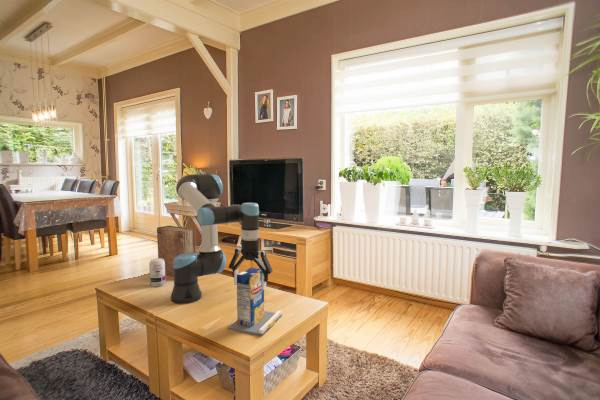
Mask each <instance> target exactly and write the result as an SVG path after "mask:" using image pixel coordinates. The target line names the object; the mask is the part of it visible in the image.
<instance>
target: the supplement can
mask: <svg viewBox="0 0 600 400" xmlns="http://www.w3.org/2000/svg"><path fill="white" fill-rule="evenodd" d="M148 267H149V285H150V286H151V287H153V288H160V287H164V286H165V284H166V275H165V261H164V259H162V258H158V257H157V258H153V259H152V258H151V259H150V261H149V266H148Z"/></svg>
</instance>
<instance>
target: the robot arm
mask: <svg viewBox="0 0 600 400" xmlns="http://www.w3.org/2000/svg"><path fill="white" fill-rule="evenodd" d="M175 190H176V194H177V195H178V197H179V198H180V199H182V200H184V201H186V202H187V203H188V204H189V205H190V207H191V208H192V209H194V211H195V212H196V219H197V221H198V224H199V225H200V231H201V232H200V233H201V234H200V236H201V248H199V251H198V253H199V254H197V252H196V253H195V252H190V253H189V252H188V253H183V254H180V255H178V256H176V257H175V258H174V264H173V268H174V277H173V288H172V291H171V295H170V301H171V303H173V304H177V305H183V304H184V305H185V304H191V303H195V302H198V301H199V300H201V299H202V291H201V288H200V286H199V281H198V278H199V277H204V276H208V275H209V276H210V275H217V274H220V273H222V272H223V271H224V270H225V267H226V264H227V258H226V253H225V252H224V251H223V250H222V248H221V247H220V246H219V236H218V234H219V231H218V229H219V228H218V225H221V224H234V223H240V224H241V225H240V226H241V227H240V229H241V230H240V231H241V232H240V233H241V235H240V237H241V240H240V247H241V248H240V247H237V248H235V249H234V254H233V257H232V258H231V260H230V262H229V265H228V269H231V270H232V277H233V280H234V281H233V285H234V286H237V274H239V273H240V272H239V271H240V269H239V267H240V266H241V264H243V262H244V261H252V262H254V263H256V265H257V266H258V269H261V271H262V272H263V274H262V290H264V291H265V289H266V288H267V282H268V281H269V275H270V274H271V273H273V268H272V267H271V264H270V262H269V259H268V257H267V253H266V250H262V251H260V240H259V238H260V231H259V230H260V229H259V228H260V209H259V208H260V207H259V204H258V203H257V202H243V203H241V204H231V205H226V206H217V202H218V201H219V199H220V196H222V194H223V191H224V185H223V182H222V179H221V178H220V176H219V175H217V174H210V173H208V174H207V173H206V174H205V173H203V174H187V175H184V176H182V177H181V178H180V179H178V181H177V182H176V186H175ZM240 254H241V255H242V256H241V257H240V258H239V255H240ZM237 260H238V261H237Z"/></svg>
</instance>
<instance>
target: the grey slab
mask: <svg viewBox="0 0 600 400" xmlns="http://www.w3.org/2000/svg"><path fill="white" fill-rule="evenodd" d="M282 315H283V314H282V310H279V309H278V310H277V311H276V312H272V311H265V310H264V318H263V319H261V320H260V321H259V322H257V323H256V324H255V325H253V326H252V327H247V326H243V325H239V324H237V320H236V321H234V322H233V323H232V324H230V325H229V326H228V327H227V330H228V331H233V332H239V333H243V334H248V335H253V336H259V337H263V336H264V335H265V334H266V333H267V332H268V331H269V330H270V329H271V328H272V327H273V326H274V325H275V323H277V322H278V321H279V319H280V318H282Z"/></svg>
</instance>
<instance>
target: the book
mask: <svg viewBox="0 0 600 400" xmlns="http://www.w3.org/2000/svg"><path fill="white" fill-rule="evenodd" d="M156 234H157V235H156V241H157V258H162V259H164V261H165V276H168V277H169V276H170V277H172V278H174V268H173V264H174V258H175V257H176V256H178V255H180V254H183V253H188V252H189V253H190V252H195V253H197V252H196V229H195V228H190V227H183V226H175V225H164V226H159V227H157V228H156Z"/></svg>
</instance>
